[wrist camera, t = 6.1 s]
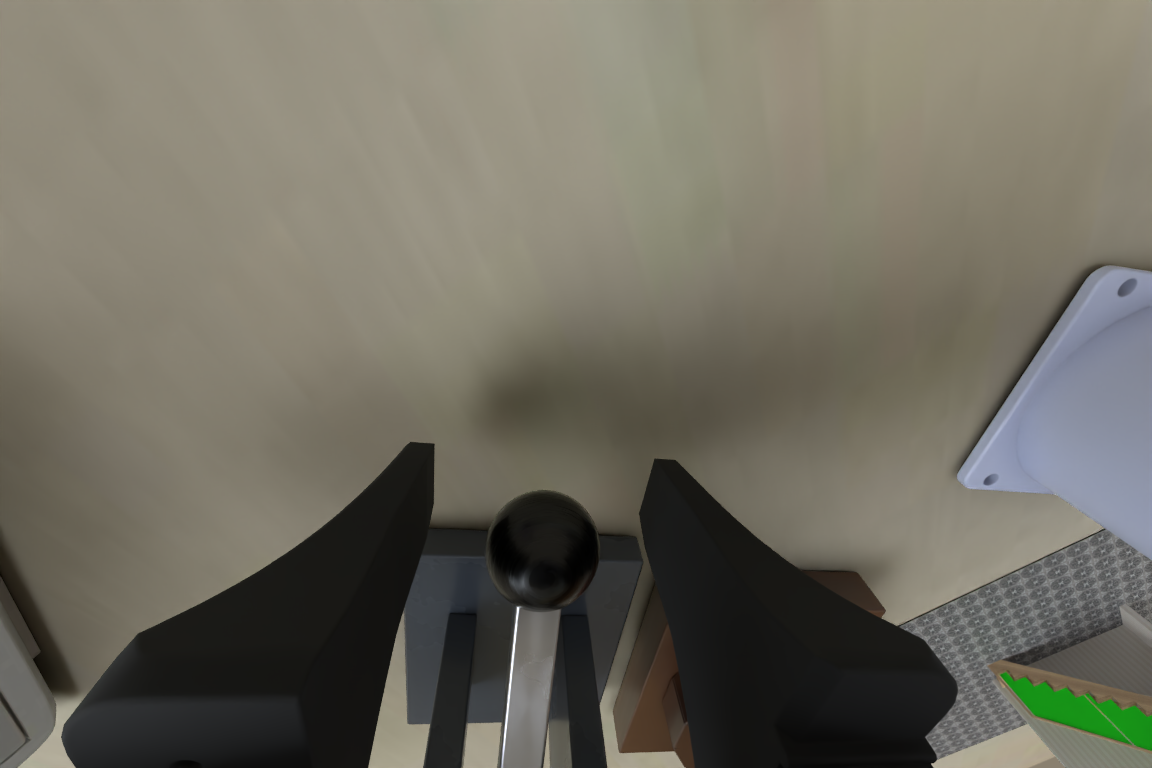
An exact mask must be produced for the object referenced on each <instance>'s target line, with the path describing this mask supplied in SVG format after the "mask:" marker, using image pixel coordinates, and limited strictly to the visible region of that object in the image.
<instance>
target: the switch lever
mask: <svg viewBox="0 0 1152 768" xmlns="http://www.w3.org/2000/svg"><path fill="white" fill-rule="evenodd" d="M599 560H600V540H599V535H598V531H597V528H596V526H595V523H594V521H593V520H592V518H591V516H590V515H589V513H588V512H587V511H586V509H585V508H584V507H583V506H582V505H581V504H580V503H578V502H577V501H576V500H574V499H573V498H571V497H569V496H568V495H565V494H563V493H560V492H556V491H550V490H537V491H531V492H528V493H525V494H522V495H520V496H518V497H516V498H514V499H513V500H512V501H510V502H509V503H507V504H506V505H505V506H504V507H503V508H502V509H501V510H500V511H499V513H498V514H497V515H496V517H495V518H494V520H493V522H492V524H491V526H490V528H489V531H488V534H487V537H486V542H485V564H486V568H487V571H488V575H489V577H490V579H491V582H492V583H493V585H494V587H495V588H496V590H497V591H498V592H499V593H500V595H501V596H502V597H504V598H505V599H506V600H507V601H508V602H510V603H511V604H513V615H512V626H511V636H510V646H509V656H508V666H507V676H506V686H505V696H504V706H503V716H502V726H501V736H500V746H499V756H498V766H497V768H543V764H544V756H545V747H546V738H547V729H548V721H549V712H550V703H551V694H552V686H553V677H554V668H555V660H556V651H557V642H558V633H559V625H560V616H561V608H564V607H566V606H568V605H570V604H571V603H573V602H574V601H576V600H577V599H578V598H579V597H580V596H581V595H583V593H584V592H585V591H586V590H587V588H588V587H589V585H590V584H591V582H592V581H593V579H594V577H595V574H596V571H597V568H598V565H599Z"/></svg>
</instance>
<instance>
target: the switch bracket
mask: <svg viewBox="0 0 1152 768" xmlns="http://www.w3.org/2000/svg"><path fill="white" fill-rule="evenodd" d="M487 534H488V531H479V530H455V529H430V528H429V530H428V535H427V539H426V542H425V545H424V548H423V552H422V555H421V558H420V561H419V564H418V567H417V570H416V573H415V576H414V579H413V583H412V586H411V589H410V592H409V595H408V598H407V601H406V604H405V607H404V622H405V657H406V693H407V723H408V724H430V729H429V735H428V741H427V748H426V754H425V760H424V766H423V768H463V765H464V755H465V745H466V735H467V724H468V723H494V722H502V716H503V706H504V696H505V686H506V676H507V666H508V656H509V646H510V636H511V626H512V615H513V604H511V603H510V602H508V601H507V600H506V599H505V598H504V597H502V596H501V595H500V593H499V592H498V591H497V590H496V588H495V587H494V585H493V583H492V582H491V579H490V577H489V575H488V571H487V568H486V564H485V542H486V537H487ZM599 540H600V560H599V565H598V568H597V571H596V574H595V577H594V579H593V581H592V582H591V584H590V585H589V587H588V588H587V590H586V591H585V592H584V593H583V595H581V596H580V597H579V598H578V599H577V600H576V601H574V602H573V603H571V604H570V605H568V606H566V607H564V608H561V616H560V625H559V633H558V642H557V651H556V660H555V668H554V677H553V686H552V694H551V703H550V712H549V721H548V723H549V750H550V768H607V761H606V754H605V746H604V738H603V730H602V722H601V714H600V706H599V705H600V702H601V699H602V695H603V692H604V689H605V686H606V682H607V679H608V676H609V673H610V669H611V666H612V663H613V660H614V656H615V653H616V650H617V646H618V643H619V640H620V637H621V633H622V630H623V627H624V624H625V620H626V617H627V614H628V611H629V607H630V604H631V601H632V598H633V594H634V591H635V588H636V585H637V581H638V578H639V575H640V572H641V568H642V565H643V559H642V555H641V551H640V548H639V544H638V540H637V538H636V537H628V536H603V535H599Z"/></svg>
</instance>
